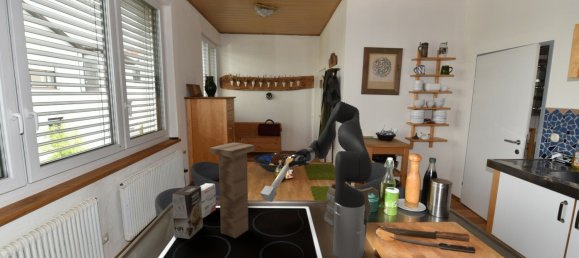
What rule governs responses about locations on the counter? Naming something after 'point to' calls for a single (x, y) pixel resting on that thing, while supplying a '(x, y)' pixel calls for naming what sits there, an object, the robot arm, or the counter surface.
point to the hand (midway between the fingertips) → (285, 164)
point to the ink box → (208, 199)
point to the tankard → (331, 202)
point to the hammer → (276, 182)
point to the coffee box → (187, 211)
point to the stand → (233, 187)
